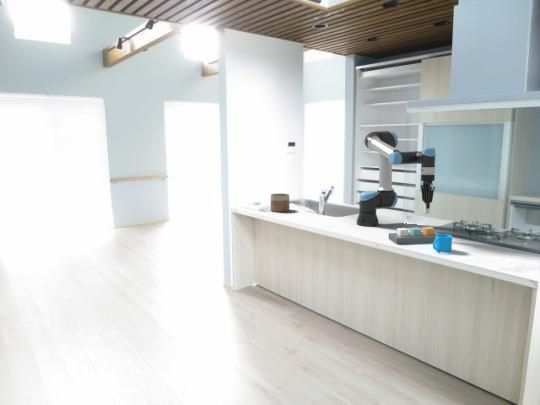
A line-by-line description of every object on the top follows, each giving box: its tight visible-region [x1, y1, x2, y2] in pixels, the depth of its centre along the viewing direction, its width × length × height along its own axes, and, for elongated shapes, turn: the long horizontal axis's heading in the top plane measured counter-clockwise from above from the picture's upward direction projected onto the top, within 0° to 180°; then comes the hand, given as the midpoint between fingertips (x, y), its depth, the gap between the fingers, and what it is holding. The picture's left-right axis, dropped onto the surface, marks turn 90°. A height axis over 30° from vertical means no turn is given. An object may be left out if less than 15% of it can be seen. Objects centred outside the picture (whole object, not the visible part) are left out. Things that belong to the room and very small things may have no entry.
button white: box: [396, 227, 409, 237], centre depth 235 cm, size 5×5×4 cm
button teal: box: [409, 227, 423, 236], centre depth 235 cm, size 5×5×4 cm
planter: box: [270, 192, 290, 213], centre depth 336 cm, size 16×16×14 cm
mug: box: [432, 233, 453, 253], centre depth 214 cm, size 12×8×8 cm
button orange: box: [422, 226, 435, 236], centre depth 236 cm, size 5×5×4 cm
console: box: [388, 231, 438, 245], centre depth 236 cm, size 12×28×4 cm, turn 95°
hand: (426, 213), depth 238 cm, fingers closed
